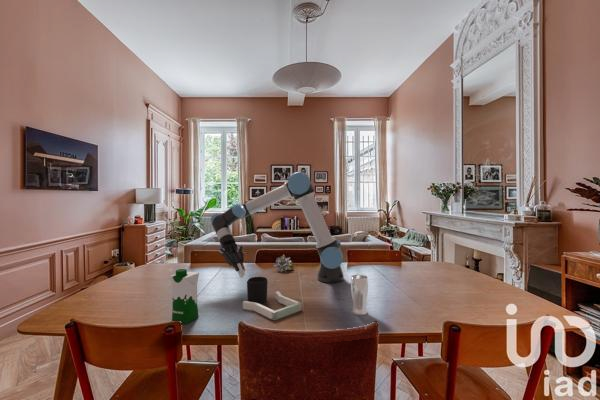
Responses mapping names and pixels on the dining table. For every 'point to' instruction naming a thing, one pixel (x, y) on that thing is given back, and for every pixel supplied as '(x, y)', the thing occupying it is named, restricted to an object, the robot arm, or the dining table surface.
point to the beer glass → (359, 294)
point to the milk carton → (184, 296)
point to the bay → (274, 315)
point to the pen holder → (257, 289)
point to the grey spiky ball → (283, 263)
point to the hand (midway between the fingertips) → (242, 275)
